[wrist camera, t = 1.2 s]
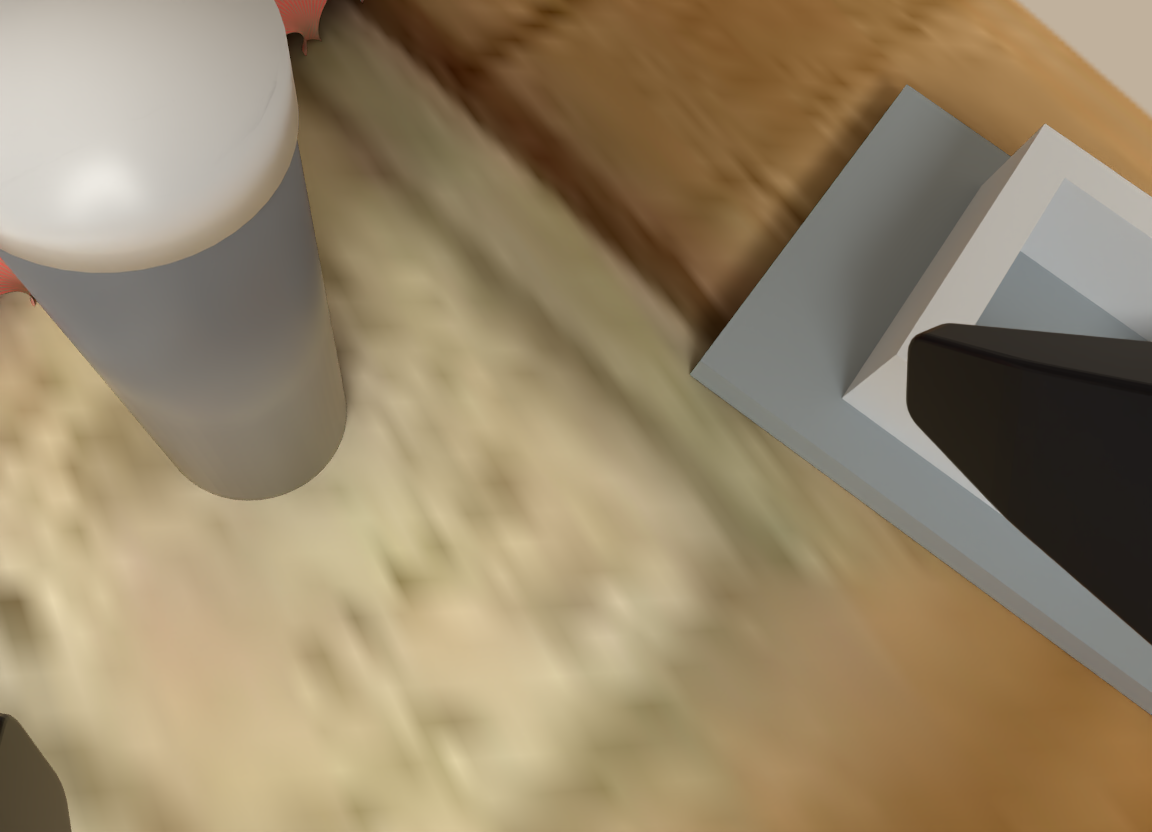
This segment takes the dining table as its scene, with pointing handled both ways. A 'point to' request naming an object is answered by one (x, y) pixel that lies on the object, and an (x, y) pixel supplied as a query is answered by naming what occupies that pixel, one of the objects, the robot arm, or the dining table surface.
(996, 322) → the dock
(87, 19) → the peg
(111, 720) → the dining table surface
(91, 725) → the dining table surface
